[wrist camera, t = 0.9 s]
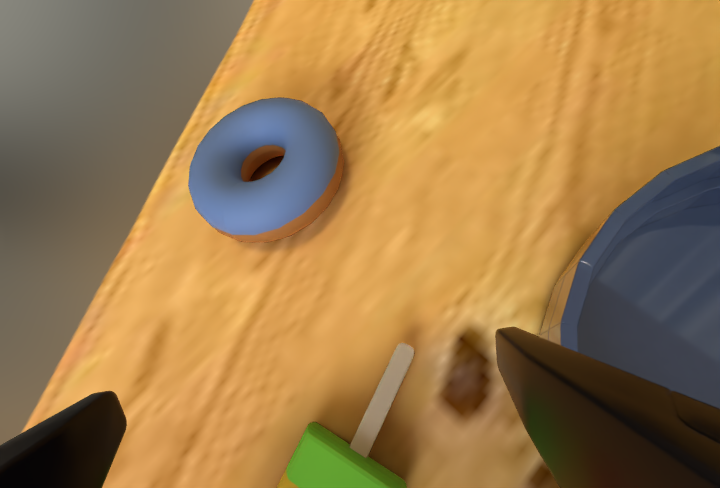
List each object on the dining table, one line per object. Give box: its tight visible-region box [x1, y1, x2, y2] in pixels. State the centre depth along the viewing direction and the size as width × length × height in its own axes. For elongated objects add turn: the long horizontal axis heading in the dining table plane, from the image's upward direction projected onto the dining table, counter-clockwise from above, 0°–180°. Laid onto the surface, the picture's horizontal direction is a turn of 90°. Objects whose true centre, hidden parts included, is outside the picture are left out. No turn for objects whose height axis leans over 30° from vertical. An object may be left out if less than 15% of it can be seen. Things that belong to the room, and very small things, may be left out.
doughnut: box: [188, 98, 344, 242], centre depth 24 cm, size 10×10×5 cm
